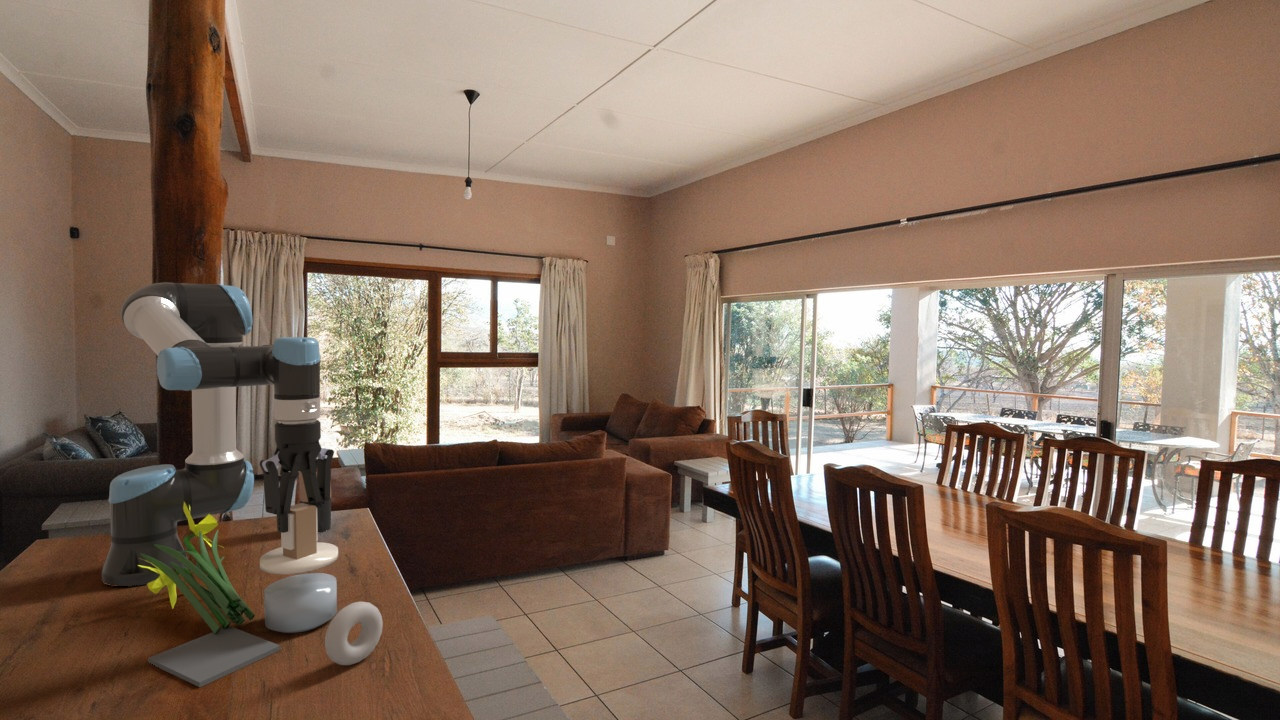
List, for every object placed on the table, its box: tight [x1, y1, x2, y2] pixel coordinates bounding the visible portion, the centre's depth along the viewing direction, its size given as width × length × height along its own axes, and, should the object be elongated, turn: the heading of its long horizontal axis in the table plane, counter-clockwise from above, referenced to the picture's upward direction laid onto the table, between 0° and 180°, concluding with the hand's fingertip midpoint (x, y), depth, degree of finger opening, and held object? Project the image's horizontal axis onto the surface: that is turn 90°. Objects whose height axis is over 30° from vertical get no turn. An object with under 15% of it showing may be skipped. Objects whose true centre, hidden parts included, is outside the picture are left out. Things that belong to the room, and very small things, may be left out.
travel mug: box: [298, 457, 332, 533], centre depth 174 cm, size 8×8×20 cm
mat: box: [147, 625, 281, 688], centre depth 109 cm, size 15×13×1 cm
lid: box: [259, 502, 339, 575], centre depth 121 cm, size 13×13×10 cm
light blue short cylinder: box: [263, 572, 338, 634], centre depth 121 cm, size 12×12×7 cm
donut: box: [324, 601, 384, 666], centre depth 107 cm, size 10×4×10 cm, turn 148°
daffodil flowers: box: [138, 502, 256, 635], centre depth 126 cm, size 17×15×35 cm
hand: (299, 544), depth 121 cm, fingers closed on lid, 4 cm apart
